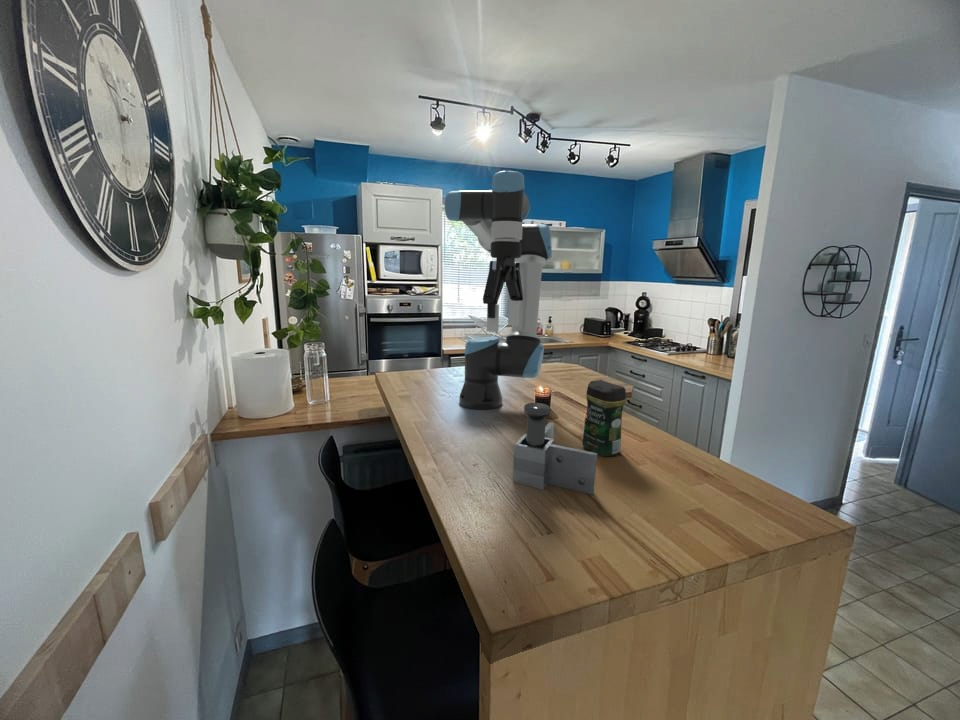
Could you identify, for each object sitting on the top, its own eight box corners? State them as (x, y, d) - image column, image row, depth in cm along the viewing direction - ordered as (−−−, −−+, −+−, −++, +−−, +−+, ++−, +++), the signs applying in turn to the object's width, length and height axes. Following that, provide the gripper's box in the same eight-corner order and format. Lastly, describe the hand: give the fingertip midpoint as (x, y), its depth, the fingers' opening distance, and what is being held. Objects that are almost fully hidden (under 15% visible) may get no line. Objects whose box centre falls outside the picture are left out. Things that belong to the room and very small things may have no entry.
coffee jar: (576, 446, 112) (581, 379, 108) (597, 440, 116) (603, 376, 112) (604, 460, 104) (610, 389, 100) (625, 453, 108) (632, 385, 104)
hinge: (536, 452, 107) (538, 420, 105) (604, 467, 100) (607, 432, 98) (512, 482, 92) (514, 444, 90) (590, 501, 85) (593, 461, 83)
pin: (525, 470, 97) (529, 401, 93) (548, 476, 95) (553, 405, 91) (516, 481, 92) (520, 408, 88) (541, 487, 90) (546, 413, 86)
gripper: (510, 244, 113) (508, 321, 117) (469, 237, 91) (467, 333, 95) (537, 244, 110) (533, 323, 114) (500, 237, 88) (497, 336, 92)
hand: (503, 328), depth 105 cm, fingers open, 13 cm apart
